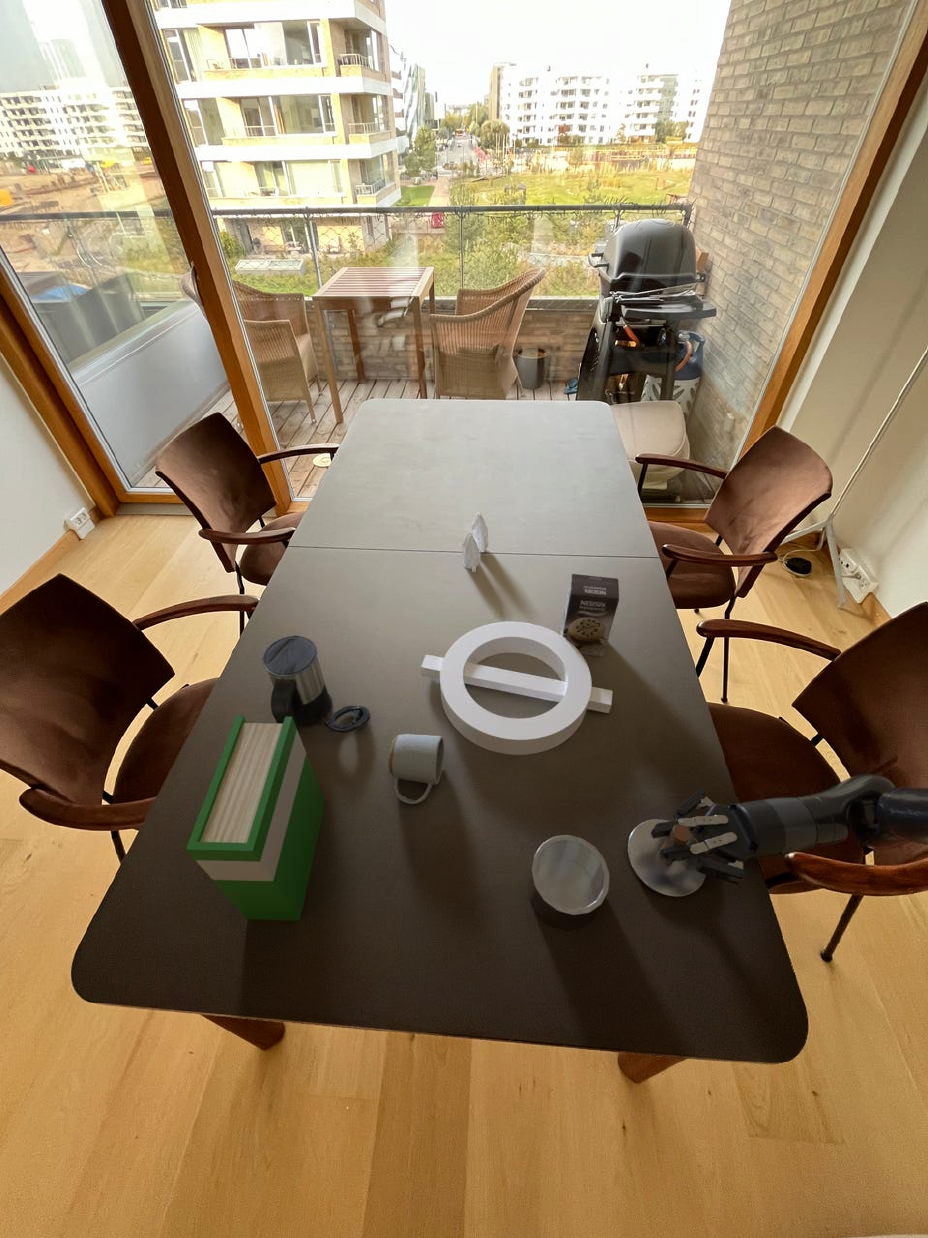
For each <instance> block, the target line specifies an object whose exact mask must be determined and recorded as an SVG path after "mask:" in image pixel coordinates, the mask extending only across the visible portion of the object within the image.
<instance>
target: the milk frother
mask: <svg viewBox="0 0 928 1238" xmlns="http://www.w3.org/2000/svg"><path fill="white" fill-rule="evenodd" d="M261 660H262V661H261V664H262V666H263V668H264V669H265V671H266V672H267V674H268V675H269V679H270V681H271V684H272V686H273V688H272V692H271V696H270V709H271V714H272V716H273V718H274V720H275V722H276V724H283V722H284V719H285V717H293V720H294V723H295V725H296V728H297V730H298V733H299V736H300V737H301V733H302V732H301V728H309V727H313V726H316V725H318V724H319V723H322V724H323V726H325V727H326V728H327V729H328V730H329V731H330V732H332V733H335V734H348V733H352V732H355V731H357V730H359V729H360V728H361V729H362V727H364V726H365V725H366V724H367V723H368V722H369V720H370V719H371V712H370V710H369V709H368V708H367V707H366V706H363V705H361V704H358V705H357V704H356V705H349V706H344V707H343V708H341V709H339V710H337V711H335V712H334V713H332V715H331V716H330V718H329V720H328V721H327V720H326V718H327V717H328V715H329V714H330V712H331V711H332V708H333V707H332V706H333V700H332V696H331V695H330V694H329V692H328V689H327V685H326V683H325V679H324V676H323V671H322V668H321V665H320V661H319V657H318V647H317V645H316V644H315V642H313V640H312V639H310V638H307V637H304V636H301V635H289V636H285V637H282V638H278V639H277V640H275V641H274V642H272V643H271V644H270V645H269V646H268V647H267V648H266V649H265V651H264V653H263V655H262V658H261ZM347 713H352V717H351V724H348V725H343V726H342V725H338V724H336V722H337V720H338V719H339V718H341V716H343V715H345V714H347Z"/></svg>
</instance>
